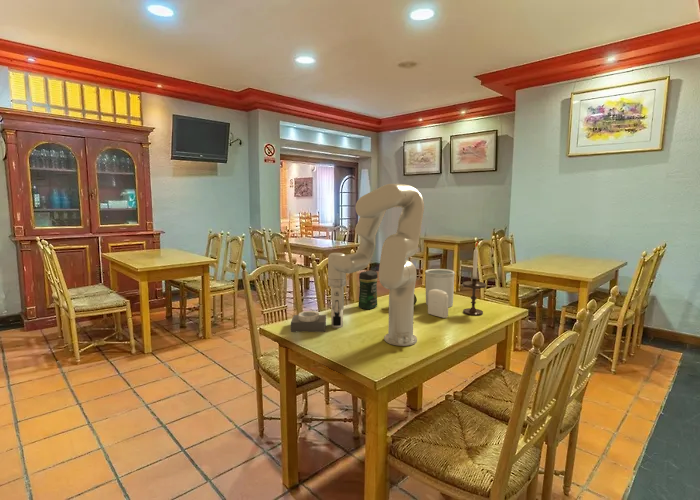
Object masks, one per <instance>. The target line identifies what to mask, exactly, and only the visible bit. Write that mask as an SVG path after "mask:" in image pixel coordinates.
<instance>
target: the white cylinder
mask: <svg viewBox="0 0 700 500" xmlns="http://www.w3.org/2000/svg"><path fill="white" fill-rule="evenodd" d="M338 309H339V308H338ZM330 311H331V314H330V315H331V316H330V317H331V320H330V321H331V322H330V323H331V326H332V327H331V328H333V329H341V328H343V326H344V309H343V310H342V309H340V316H341V325H340V326H334V325H333V316H334V310H333V309H332V307H331V309H330ZM338 312H339V311H338Z"/></svg>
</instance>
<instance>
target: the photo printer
mask: <svg viewBox="0 0 700 500" xmlns="http://www.w3.org/2000/svg"><path fill="white" fill-rule="evenodd" d="M448 301H449V296H448V294H447V293H446V292H444V291H442V290H438V289H433V290H430V291H429V293H428V305H427V314H429V315H432V316H436V317H439V318H443V319H447V318H448V316H449V307H448Z"/></svg>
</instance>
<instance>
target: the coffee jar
mask: <svg viewBox="0 0 700 500" xmlns="http://www.w3.org/2000/svg"><path fill="white" fill-rule="evenodd" d="M378 280H379V273H378V272H377V271H376V270H372V269H371V270H370V269H369V270H367V271H366V270H365V271H362V272H360V273H359V275H358V281H359V292H358V293H359V294H358V308H360V309H362V308H363V310H365V309H366V310H371V309H374V308H376V307H378V295H377V294H378V289H377V284H378Z"/></svg>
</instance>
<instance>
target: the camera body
mask: <svg viewBox="0 0 700 500" xmlns="http://www.w3.org/2000/svg"><path fill="white" fill-rule="evenodd" d="M326 325H327V315H326V314H320V313H319V312H318V311H313V310H312V311H311V310H308V311H307V310H305V311H300V312H299V313H298V314H294V315H293V317H292V319H291V320H290V332H291V333H294V332H295V333H297V332H296V331H308V332H307V333H317V332H319V333H323V332H326Z"/></svg>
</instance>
